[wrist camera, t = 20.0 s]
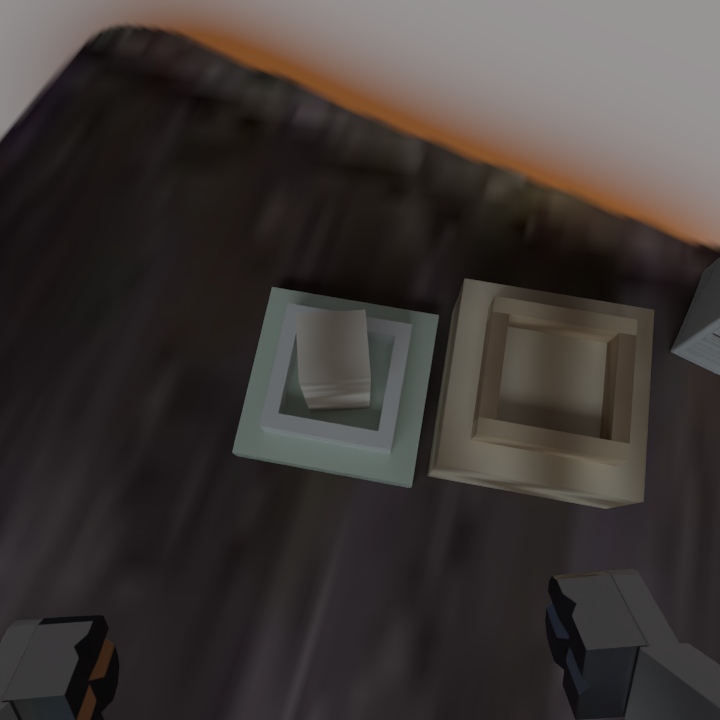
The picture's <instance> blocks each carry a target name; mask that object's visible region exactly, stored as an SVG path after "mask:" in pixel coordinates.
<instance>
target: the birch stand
mask: <svg viewBox="0 0 720 720" xmlns="http://www.w3.org/2000/svg"><path fill="white" fill-rule="evenodd" d="M653 325H654V310H652V309H646V308H640V307H634V306H628V305H622V304H616V303H610V302H604V301H598V300H592V299H586V298H580V297H574V296H568V295H562V294H556V293H550V292H544V291H538V290H532V289H526V288H520V287H514V286H508V285H502V284H495V283H489V282H483V281H477V280H471V279H464V282H463V284H462V287H461V290H460V293H459V295H458V298H457V301H456V303H455V306H454V309H453V312H452V318H451V324H450V331H449V337H448V344H447V350H446V357H445V363H444V370H443V377H442V383H441V390H440V396H439V403H438V409H437V416H436V422H435V429H434V436H433V442H432V449H431V455H430V462H429V468H428V475H427V476H431V477H436V478H441V479H447V480H452V481H458V482H463V483H469V484H474V485H480V486H485V487H490V488H496V489H501V490H507V491H512V492H518V493H523V494H528V495H534V496H539V497H545V498H550V499H556V500H561V501H567V502H572V503H577V504H583V505H588V506H594V507H599V508H605V509H607V508H613V507H618V506H623V505H629V504H634V503H639V502H644V484H645V467H646V449H647V431H648V414H649V396H650V378H651V361H652V343H653Z"/></svg>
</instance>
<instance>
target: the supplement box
mask: <svg viewBox="0 0 720 720" xmlns="http://www.w3.org/2000/svg"><path fill="white" fill-rule="evenodd" d="M671 352H672V353H674V354H676V355H678V356H680V357H682V358H684V359H686V360H688V361H691V362H693V363H695V364H697V365H699V366H701V367H703V368H706V369H708V370H710V371H712V372H714V373H716V374H718V375H720V258H718V259H717V260H716V261H715V262H714V263H712V264H711V265H710V266H709V267H708V268H706V269H705V270H704V271H703V273H702V275H701V278H700V281H699V284H698V287H697V290H696V292H695V295H694V298H693V300H692V303H691V305H690V308H689V310H688V312H687V315H686V317H685V319H684V322H683V324H682V326H681V329H680V331H679V333H678V335H677V338H676V340H675V342H674V344H673V346H672V348H671Z"/></svg>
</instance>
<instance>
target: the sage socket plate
mask: <svg viewBox="0 0 720 720" xmlns="http://www.w3.org/2000/svg"><path fill="white" fill-rule="evenodd" d="M364 309H365V312H366V324H367V336H368V348H369V360H370V371H371V387H370V408H364V409H351V410H338V411H325V412H312V413H310V411H309V408H308V405H307V403H306V400H305V397H304V395H303V392H302V389H301V387H300V384H299V375H298V356H297V337H296V317H295V315H297V314H310V313H324V312H337V311H351V310H364ZM438 318H439V315H435V314H429V313H423V312H417V311H411V310H405V309H399V308H393V307H388V306H382V305H376V304H370V303H364V302H358V301H352V300H346V299H340V298H334V297H329V296H323V295H317V294H311V293H305V292H299V291H293V290H287V289H281V288H275V287H272V290H271V294H270V298H269V302H268V306H267V310H266V314H265V319H264V323H263V327H262V331H261V335H260V339H259V344H258V348H257V352H256V356H255V360H254V364H253V368H252V373H251V377H250V381H249V385H248V389H247V393H246V397H245V402H244V406H243V410H242V414H241V418H240V422H239V427H238V431H237V435H236V439H235V443H234V447H233V451H232V453H234V454H235V455H236V456H240V457H246V458H251V459H256V460H262V461H267V462H273V463H278V464H283V465H289V466H294V467H300V468H305V469H310V470H316V471H321V472H327V473H332V474H337V475H343V476H348V477H354V478H359V479H364V480H370V481H375V482H381V483H386V484H392V485H397V486H402V487H408V488H411V486H412V482H413V476H414V470H415V463H416V457H417V451H418V445H419V438H420V432H421V426H422V419H423V413H424V407H425V400H426V394H427V388H428V381H429V375H430V369H431V363H432V356H433V350H434V344H435V337H436V331H437V325H438Z"/></svg>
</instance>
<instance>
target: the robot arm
mask: <svg viewBox="0 0 720 720" xmlns="http://www.w3.org/2000/svg"><path fill="white" fill-rule="evenodd" d="M548 592H549V595H550V597H551V600H552V603H551V604H550V605H549V606H548V607H547V608H546V618H545V624H546V633H547V639H548V643H549V647H550V651H551V653H552V656H553V659H554V662H555V663H556V664H558V665H559V666H560V667H561V668H562V669H564V677H563V687H564V690H565V693H566V695H567V698H568V701H569V704H570V706H571V709H572V712H573V714H574V717H575V720H586V719H602V718H619V717H625V719H624V720H720V665H719V664H718V663H716V662H715V661H713V660H712V659H710V658H709V657H708V656H706V655H705V654H703V653H702V652H700V651H699V650H697V649H696V648H694V647H693V646H692V645H690V644H689V643H681V644H680V643H679V641H678V640H677V638H676V636H675V634H674V633H673V631H672V629H671V628H670V626H669V624H668V622H667V621H666V619H665V617H664V615H663V614H662V612H661V610H660V608H659V607H658V605H657V603H656V602H655V600H654V598H653V596H652V595H651V593H650V591H649V589H648V588H647V586H646V584H645V582H644V581H643V579H642V577H641V576H640V574H639V572H637V571H636V570H635V569H624V570H612V571H606V572H604V571H598V572H587V573H577V574H567V575H557V576H552V577H551V579H550V580H549V587H548ZM108 629H109V628H108V625H107V623H106V621H105V618H104V616H102V615H92V616H74V617H57V618H44V619H30V620H16V621H15V622H14V623H13V624H12V625H11V626H10V627H9V628H8V629H7V631H6V633H5V635H4V637H3V639H2V641H1V643H0V720H104V719H103V716H102V714H101V712H102V711H103V710H104V709H105V708H106V707H107V706H108V705H109V704H110V703H111V702H112V701H113V699H114V696H115V692H116V689H117V685H118V676H119V659H118V653H117V650H116V647H115V645H114V644H113V643H111V642H110V641H108V640H107V639H105V638H106V635H107V632H108Z"/></svg>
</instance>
